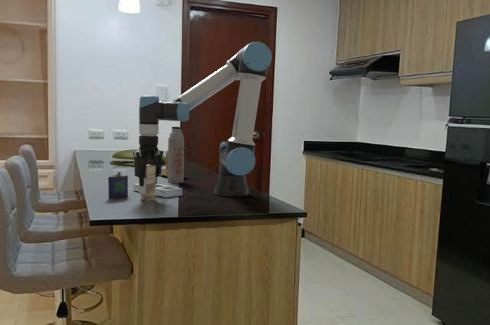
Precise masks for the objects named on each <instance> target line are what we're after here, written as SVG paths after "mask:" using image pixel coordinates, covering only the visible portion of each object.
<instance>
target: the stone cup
mask: <svg viewBox="0 0 490 325" xmlns="http://www.w3.org/2000/svg"><path fill="white" fill-rule="evenodd" d="M165 159H166V165H165V168H161V175H162V176H164V177H166V178H168V149H167V150H166V152H165ZM161 175H160V176H161Z"/></svg>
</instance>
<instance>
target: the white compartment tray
mask: <svg viewBox="0 0 490 325" xmlns="http://www.w3.org/2000/svg"><path fill="white" fill-rule="evenodd" d="M133 191H134V192H137V191H139V192H138V193H140V186H139V182H138V183H133ZM156 196H157V197H160V196H161V197H162V198H172V197H173V198H174V197H180V196H183V188H182V187H177V186H172V185H167V184H161V183H157V184H156V193H155V197H156Z"/></svg>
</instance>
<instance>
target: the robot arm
mask: <svg viewBox="0 0 490 325" xmlns="http://www.w3.org/2000/svg"><path fill="white" fill-rule="evenodd" d="M272 57H273V56H272V52H271V49H270V48H269V47H268V46H267V45H266V44H265V43H263V42H261V41H253V42H249V43H248V44H246V45H245V46H243V47H242V48H241V49H240V50H239V51H238V52H237V53H235V55H234V56H232V57H231V58H230V59H229V60H227V61H226V64H225V65H224V66H222V67H221V68H219V69H217V71H214V72H213V73H212V74H210V75H208V76H207V77H206V78H205V79H202V80H201V81H199V82H198V83H197V84H196V85H194V86H193V87H191V88H189V89H188V90H186V91H185V92H183V93H182V94H180V95H179V96H178V97H176V98H174V99H173V100H171V101H163V100H160V98H159V96H156V95H142V96H140V97H139V106H138V112H139V113H138V133H139V134H140V135H139V136H138V144H139V149H138V151H136V152H133V155H134V160H133V162H134V165H135V167H134V177H137V178H138V179H139V180H138V181H139V182H138V183H139V186H140V192H139V194H140V195H141V194H144V195H145V194H146V178H144V177H145V172H146V166H147V165H148V163H147V161H148V160H149V161H150V163H149V164H150V165H156V167H155V193H156V184H158V179H157V178H159V176H161V169H163V164H162V155H164V150H160V149H159V147H158V145H159V136H158V135H159V133H160V132H159V131H160V130H159V125H160V124H159V122H160V121H169V122H170V121H171V122H172V121H173V122H187V121H189V118H190V111H191V110H193V109H194V108H196V107H197V106H199V105H200V104H203V102H205V101H206V100H208V99H209V98H211V97H212V96H214V95H215V94H217V93H218V92H219V91H222V90H223V89H224V88H225V87H227V86H229V85H230V84H232V83H233V82H235V81H240V83H239V89H238V93H237V94H238V95H237V101H236V107H235V115H234V121H233V127H232V132H231V137H230V138H228V139H227V141H221V143H220V144H219V162H218V163H219V166H218V168H219V169H218V179H217V181H216V185H215V187H214V195H218V196H222V197H245V196H248V195H249V187H248V184H247V179H246V175H247V174H249V173H251V172H252V171H253V169H254V167H255V165H256V156H255V148H256V143H255V142H254V139H253V137H254V132H255V125H256V119H257V114H258V106H259V100H260V93H261V89H262V88H261V86H262V82H263V81H265V80H266V78H267V75H268V68H269V67H270V66H271V62H272V59H273V58H272ZM140 156H141V157H140Z"/></svg>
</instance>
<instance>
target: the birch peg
mask: <svg viewBox="0 0 490 325" xmlns="http://www.w3.org/2000/svg"><path fill="white" fill-rule="evenodd" d="M155 167H156V165H150V163H147V166H146V172H145V177H144V178H146V194H145V195H144V194H140V200H141V201H144V200H145V201H144V202H150V201H156V195H155Z"/></svg>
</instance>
